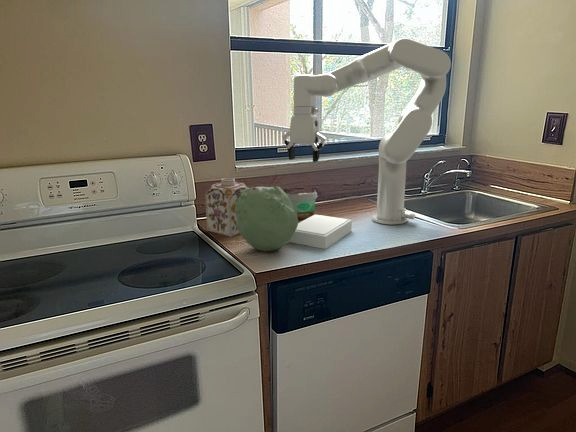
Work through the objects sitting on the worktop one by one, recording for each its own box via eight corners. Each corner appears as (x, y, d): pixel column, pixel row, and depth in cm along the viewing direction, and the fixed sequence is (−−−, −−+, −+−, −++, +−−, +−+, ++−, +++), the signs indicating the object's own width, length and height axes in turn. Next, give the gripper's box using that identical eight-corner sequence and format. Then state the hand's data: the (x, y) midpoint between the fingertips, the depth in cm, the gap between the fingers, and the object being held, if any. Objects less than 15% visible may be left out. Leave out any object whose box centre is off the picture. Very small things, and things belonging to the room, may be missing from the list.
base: (351, 231, 154) (351, 219, 153) (325, 248, 138) (325, 235, 137) (314, 225, 161) (315, 213, 160) (286, 241, 145) (285, 228, 143)
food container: (292, 223, 164) (292, 196, 161) (285, 219, 169) (285, 193, 166) (322, 219, 168) (323, 193, 166) (315, 215, 174) (315, 189, 171)
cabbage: (305, 254, 133) (305, 188, 127) (241, 262, 128) (239, 193, 122) (289, 238, 147) (289, 178, 142) (232, 244, 142) (229, 182, 137)
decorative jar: (206, 231, 156) (203, 179, 151) (229, 223, 165) (227, 174, 160) (231, 237, 149) (228, 184, 144) (254, 228, 158) (253, 178, 153)
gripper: (331, 111, 157) (329, 161, 161) (288, 110, 165) (288, 157, 170) (321, 112, 151) (320, 164, 155) (277, 111, 159) (277, 159, 164)
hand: (303, 160), depth 163 cm, fingers open, 9 cm apart
